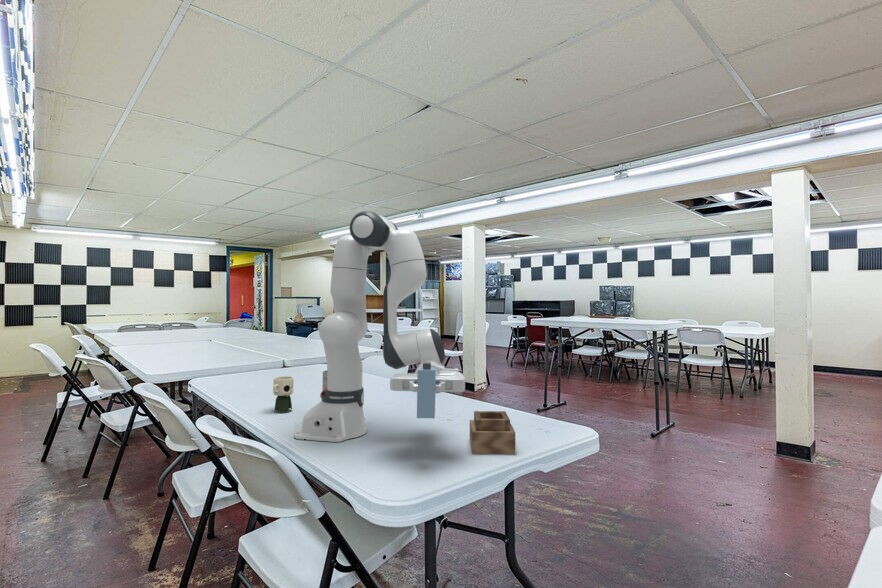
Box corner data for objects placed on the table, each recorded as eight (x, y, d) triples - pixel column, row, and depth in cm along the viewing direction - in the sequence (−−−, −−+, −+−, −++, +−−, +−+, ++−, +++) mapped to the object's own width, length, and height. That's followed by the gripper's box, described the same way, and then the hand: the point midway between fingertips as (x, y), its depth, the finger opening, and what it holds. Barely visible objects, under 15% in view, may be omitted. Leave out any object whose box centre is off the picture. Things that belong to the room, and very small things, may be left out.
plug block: (416, 418, 103) (417, 364, 103) (418, 413, 108) (418, 361, 108) (434, 418, 103) (435, 364, 103) (435, 413, 108) (435, 361, 108)
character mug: (281, 416, 152) (281, 380, 152) (265, 414, 154) (265, 379, 154) (300, 408, 162) (300, 375, 162) (284, 407, 164) (285, 374, 165)
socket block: (472, 454, 114) (472, 421, 114) (469, 439, 126) (469, 410, 126) (515, 454, 114) (515, 421, 114) (508, 439, 126) (508, 410, 126)
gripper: (393, 367, 119) (385, 375, 105) (463, 368, 118) (466, 377, 105) (392, 388, 119) (385, 400, 105) (463, 390, 118) (465, 402, 104)
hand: (426, 388), depth 105 cm, fingers closed on plug block, 4 cm apart
